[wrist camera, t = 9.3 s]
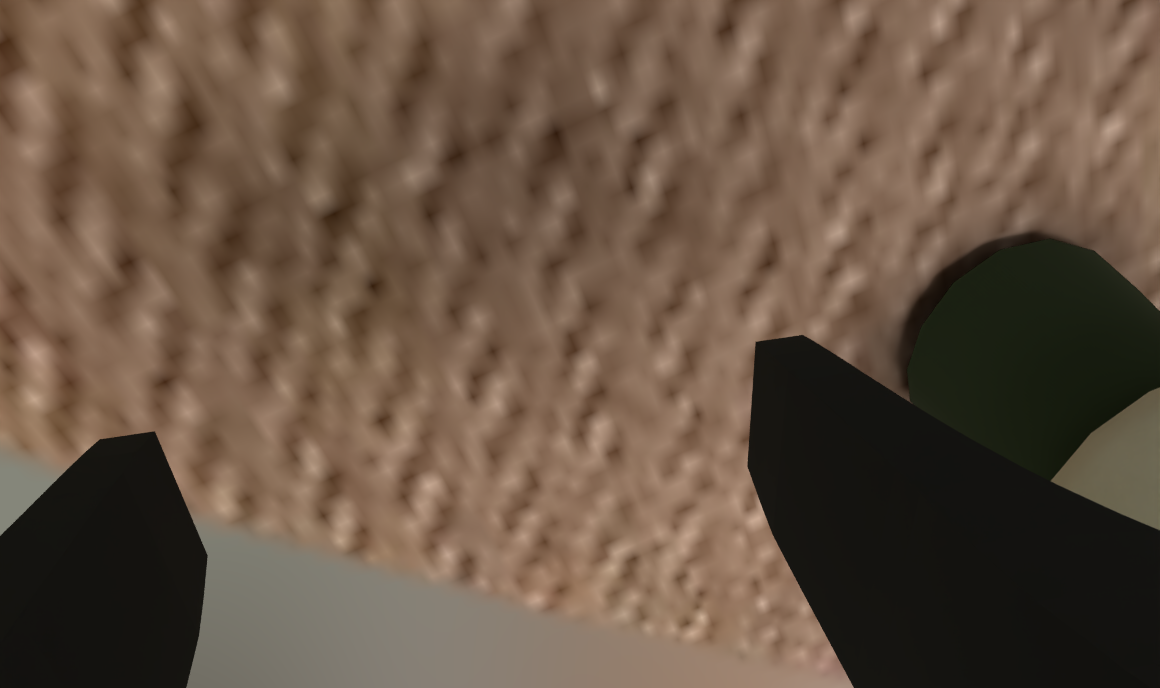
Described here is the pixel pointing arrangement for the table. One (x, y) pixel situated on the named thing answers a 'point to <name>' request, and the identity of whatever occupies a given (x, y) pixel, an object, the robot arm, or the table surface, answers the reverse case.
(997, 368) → the character mug
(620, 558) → the table surface
